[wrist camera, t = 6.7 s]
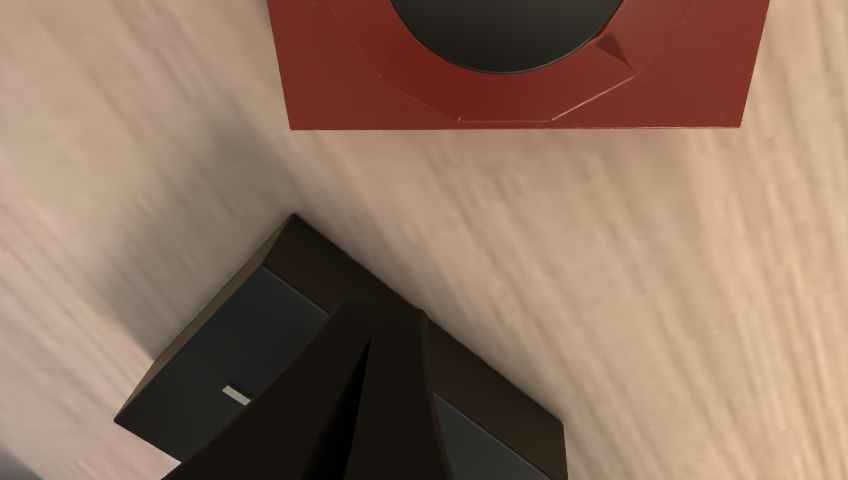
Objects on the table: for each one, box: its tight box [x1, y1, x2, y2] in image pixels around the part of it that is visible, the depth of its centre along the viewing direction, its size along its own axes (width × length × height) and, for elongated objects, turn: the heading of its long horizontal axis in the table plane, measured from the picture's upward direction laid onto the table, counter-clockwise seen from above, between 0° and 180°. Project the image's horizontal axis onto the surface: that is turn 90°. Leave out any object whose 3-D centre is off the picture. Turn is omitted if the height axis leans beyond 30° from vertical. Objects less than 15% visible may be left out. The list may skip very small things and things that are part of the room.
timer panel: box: [114, 214, 568, 480], centre depth 22 cm, size 13×10×3 cm
